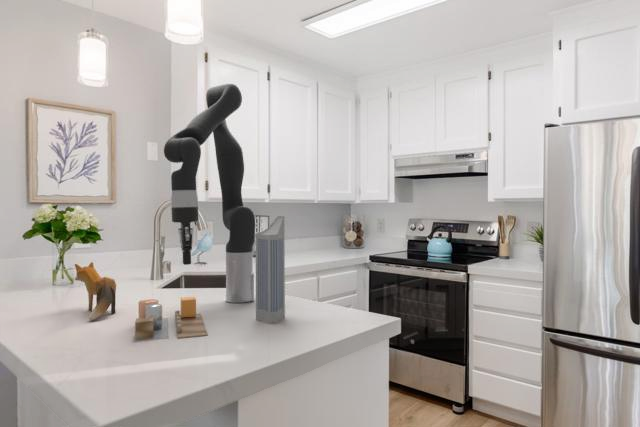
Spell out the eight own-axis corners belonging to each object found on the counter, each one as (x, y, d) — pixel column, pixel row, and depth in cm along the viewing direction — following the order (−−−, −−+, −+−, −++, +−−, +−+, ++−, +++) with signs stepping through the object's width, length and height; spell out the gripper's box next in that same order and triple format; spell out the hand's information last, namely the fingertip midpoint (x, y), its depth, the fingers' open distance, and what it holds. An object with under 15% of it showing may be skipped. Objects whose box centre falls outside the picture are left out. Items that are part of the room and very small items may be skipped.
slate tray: (168, 322, 124) (167, 317, 124) (168, 343, 104) (168, 338, 104) (137, 324, 121) (137, 320, 121) (132, 346, 101) (132, 341, 101)
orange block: (180, 314, 126) (180, 297, 125) (195, 313, 127) (195, 296, 127) (181, 317, 122) (181, 300, 122) (196, 316, 123) (196, 299, 123)
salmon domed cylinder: (158, 320, 121) (158, 298, 121) (158, 324, 116) (158, 302, 116) (139, 321, 119) (139, 300, 119) (138, 326, 115) (138, 303, 115)
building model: (289, 317, 128) (289, 216, 128) (275, 324, 121) (274, 216, 121) (265, 315, 132) (265, 216, 132) (250, 321, 124) (249, 216, 124)
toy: (99, 304, 147) (99, 260, 147) (130, 320, 126) (129, 268, 126) (63, 309, 140) (62, 263, 140) (89, 327, 119) (88, 272, 119)
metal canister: (162, 325, 115) (162, 303, 115) (162, 329, 112) (162, 306, 112) (146, 327, 114) (145, 304, 114) (145, 331, 110) (145, 307, 110)
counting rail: (174, 320, 125) (174, 309, 125) (200, 318, 128) (200, 307, 128) (177, 343, 104) (177, 329, 104) (207, 340, 106) (207, 327, 106)
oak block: (153, 333, 109) (153, 317, 109) (153, 337, 105) (153, 320, 105) (136, 334, 107) (136, 318, 107) (135, 339, 103) (135, 322, 103)
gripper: (200, 205, 124) (202, 266, 124) (195, 205, 136) (197, 260, 137) (172, 206, 121) (175, 268, 122) (170, 206, 133) (172, 262, 134)
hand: (187, 264), depth 129 cm, fingers closed
